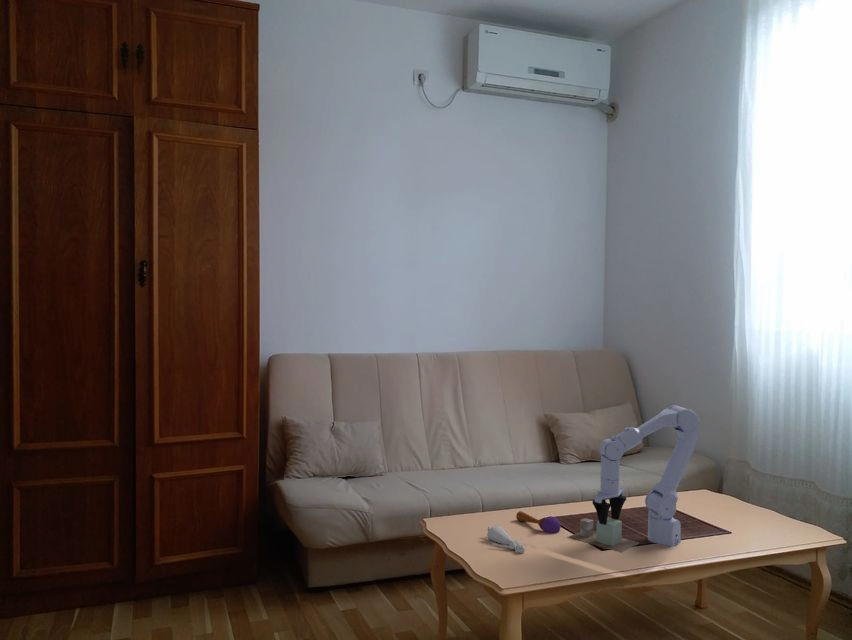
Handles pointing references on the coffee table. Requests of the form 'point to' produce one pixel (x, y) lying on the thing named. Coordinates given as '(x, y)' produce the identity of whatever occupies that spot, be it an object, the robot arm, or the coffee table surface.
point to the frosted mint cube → (609, 532)
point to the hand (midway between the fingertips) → (609, 521)
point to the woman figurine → (504, 539)
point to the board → (590, 537)
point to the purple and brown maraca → (541, 522)
